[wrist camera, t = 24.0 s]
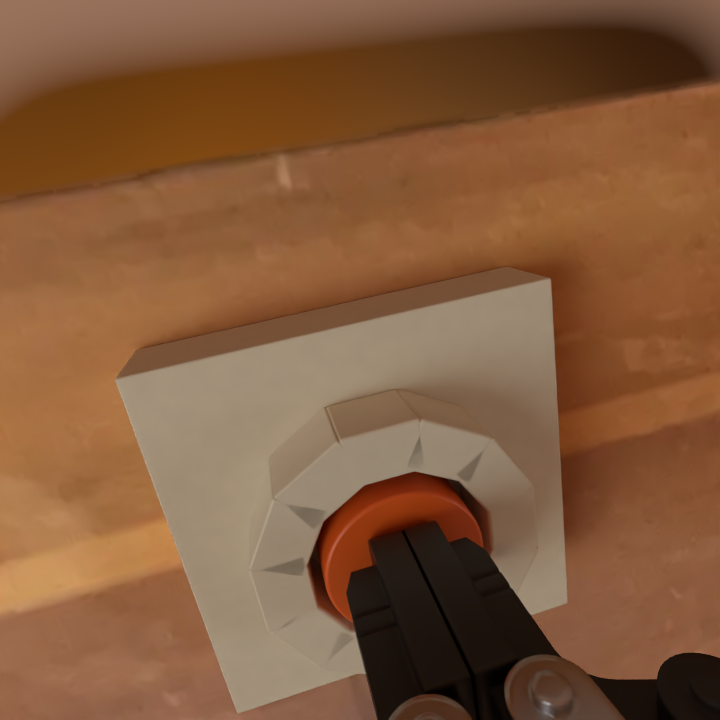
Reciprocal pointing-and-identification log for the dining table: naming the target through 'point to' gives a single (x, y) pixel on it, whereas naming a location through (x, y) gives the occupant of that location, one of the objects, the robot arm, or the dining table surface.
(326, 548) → the button
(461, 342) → the control block
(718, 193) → the dining table surface
